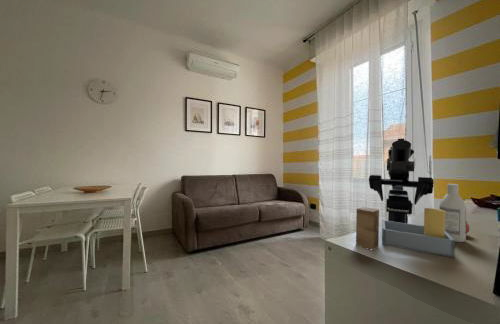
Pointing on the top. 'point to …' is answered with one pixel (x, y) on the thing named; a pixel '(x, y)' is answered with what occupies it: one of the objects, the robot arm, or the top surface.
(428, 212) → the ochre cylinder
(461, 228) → the bath foam
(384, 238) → the tray
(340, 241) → the top surface
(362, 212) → the walnut block
